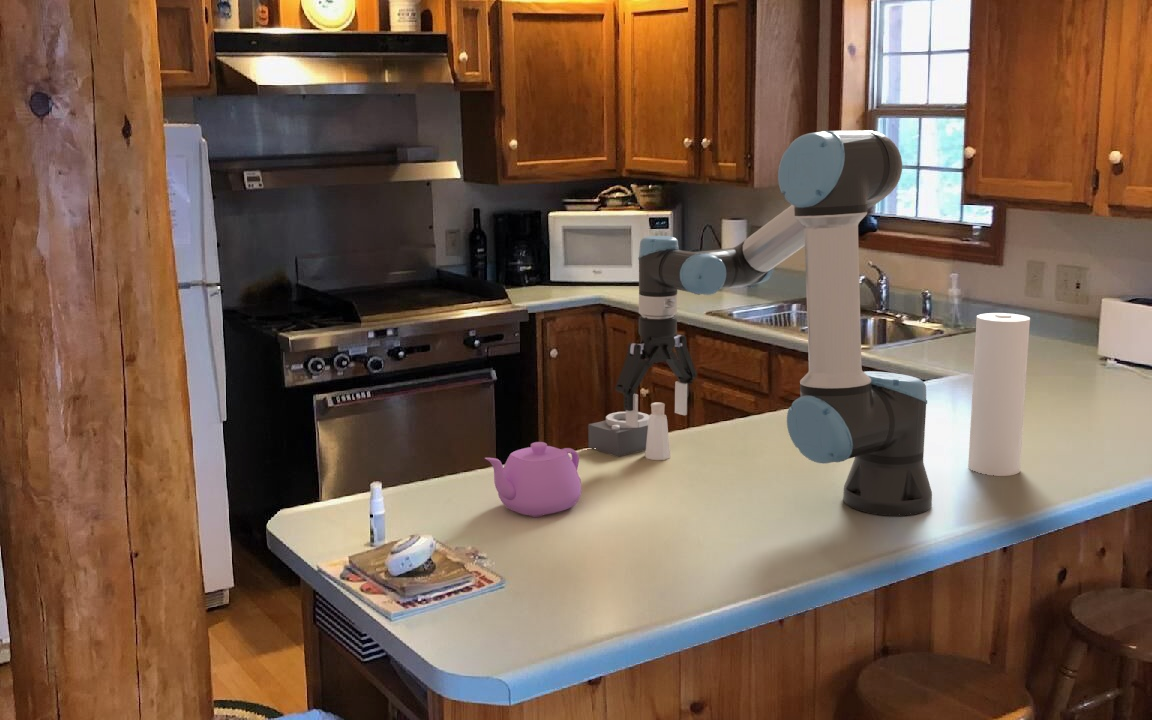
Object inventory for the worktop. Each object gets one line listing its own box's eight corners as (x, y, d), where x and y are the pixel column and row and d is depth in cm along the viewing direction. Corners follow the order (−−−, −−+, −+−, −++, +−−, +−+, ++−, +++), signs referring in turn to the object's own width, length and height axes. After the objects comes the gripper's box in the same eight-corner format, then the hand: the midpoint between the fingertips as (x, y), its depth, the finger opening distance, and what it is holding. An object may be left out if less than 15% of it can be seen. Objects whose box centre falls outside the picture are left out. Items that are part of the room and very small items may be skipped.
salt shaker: (640, 454, 241) (639, 401, 239) (664, 451, 243) (664, 399, 241) (651, 461, 236) (651, 407, 234) (675, 458, 238) (676, 405, 236)
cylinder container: (986, 477, 223) (996, 320, 217) (958, 463, 232) (966, 312, 226) (1030, 473, 226) (1041, 317, 219) (1000, 459, 235) (1009, 309, 228)
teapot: (557, 488, 221) (556, 427, 218) (602, 506, 210) (602, 442, 208) (466, 511, 209) (464, 446, 206) (509, 531, 198) (508, 464, 196)
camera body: (638, 435, 255) (638, 407, 254) (667, 443, 249) (667, 415, 247) (588, 447, 247) (588, 418, 245) (617, 456, 240) (617, 427, 239)
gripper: (623, 326, 223) (623, 435, 228) (715, 310, 239) (713, 412, 243) (597, 320, 229) (597, 427, 233) (689, 305, 244) (687, 405, 249)
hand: (656, 419), depth 238 cm, fingers open, 13 cm apart
